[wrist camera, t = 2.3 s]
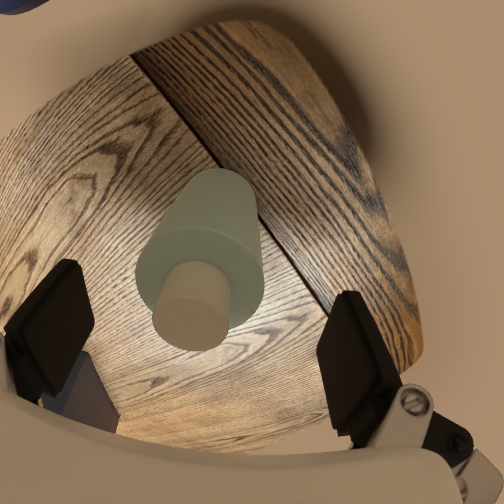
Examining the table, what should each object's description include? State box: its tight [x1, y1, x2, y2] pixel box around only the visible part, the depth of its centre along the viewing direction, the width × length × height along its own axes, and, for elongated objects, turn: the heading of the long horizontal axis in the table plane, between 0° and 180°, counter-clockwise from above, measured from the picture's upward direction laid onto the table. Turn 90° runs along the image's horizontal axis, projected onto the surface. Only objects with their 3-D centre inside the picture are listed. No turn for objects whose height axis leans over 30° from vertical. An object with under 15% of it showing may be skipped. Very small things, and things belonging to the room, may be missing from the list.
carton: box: [41, 351, 120, 434], centre depth 22 cm, size 16×12×14 cm
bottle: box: [135, 168, 264, 351], centre depth 13 cm, size 5×5×10 cm
